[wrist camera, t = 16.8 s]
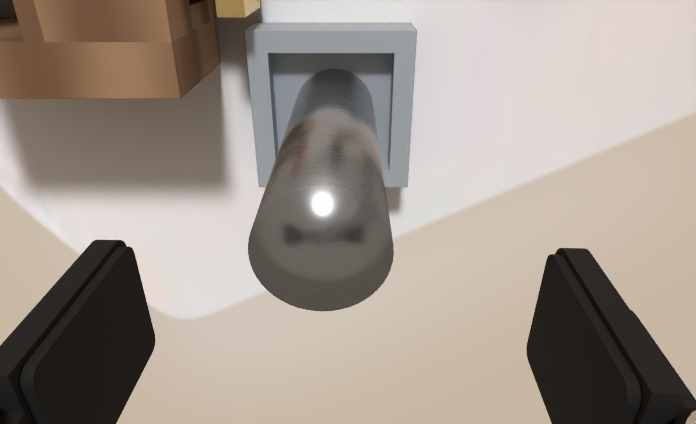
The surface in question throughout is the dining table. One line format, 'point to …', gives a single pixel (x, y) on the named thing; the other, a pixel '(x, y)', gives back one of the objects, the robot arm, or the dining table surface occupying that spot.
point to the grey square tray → (333, 53)
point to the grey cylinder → (325, 201)
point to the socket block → (107, 48)
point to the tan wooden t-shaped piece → (236, 7)
